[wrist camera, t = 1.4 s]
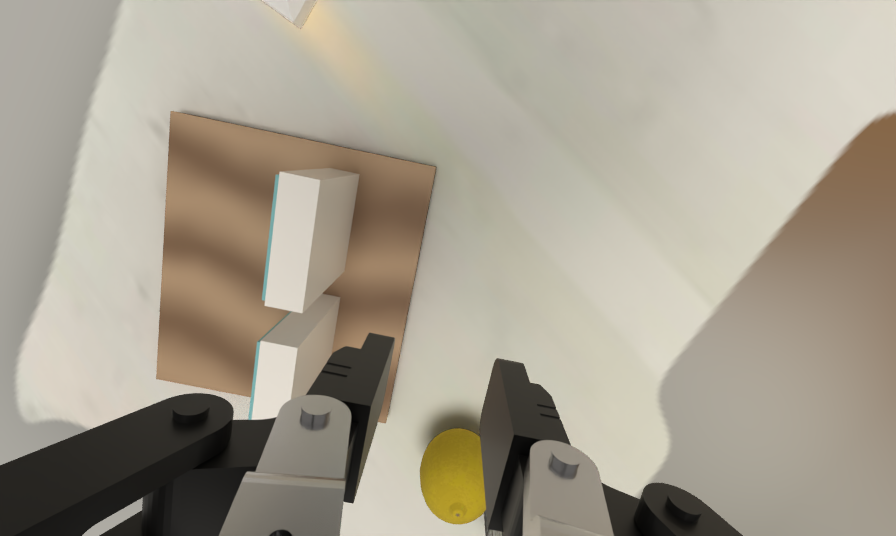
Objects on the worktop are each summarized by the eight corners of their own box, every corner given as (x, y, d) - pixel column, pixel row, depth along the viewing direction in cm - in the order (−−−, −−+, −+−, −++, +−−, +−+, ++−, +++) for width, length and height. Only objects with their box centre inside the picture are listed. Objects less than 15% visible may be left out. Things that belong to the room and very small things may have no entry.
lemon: (410, 441, 37) (397, 517, 29) (455, 396, 36) (454, 462, 28) (460, 480, 38) (461, 564, 30) (505, 437, 36) (518, 512, 29)
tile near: (326, 167, 30) (274, 170, 22) (359, 174, 30) (320, 179, 22) (313, 265, 32) (259, 304, 23) (344, 271, 32) (302, 313, 23)
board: (181, 112, 31) (170, 111, 30) (436, 166, 31) (435, 167, 30) (166, 371, 36) (156, 378, 34) (387, 414, 36) (385, 423, 35)
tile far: (309, 291, 33) (255, 339, 24) (340, 297, 33) (297, 348, 24) (298, 377, 34) (243, 451, 25) (327, 382, 34) (282, 459, 25)
